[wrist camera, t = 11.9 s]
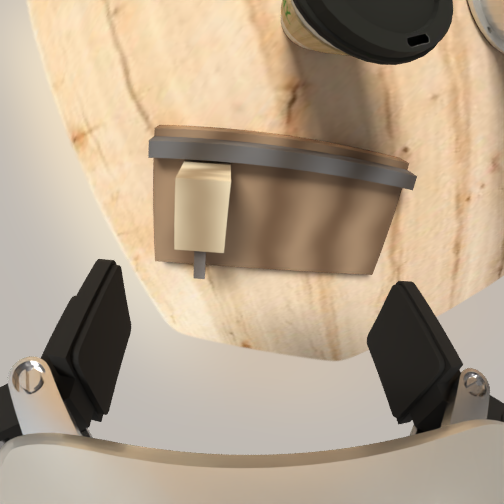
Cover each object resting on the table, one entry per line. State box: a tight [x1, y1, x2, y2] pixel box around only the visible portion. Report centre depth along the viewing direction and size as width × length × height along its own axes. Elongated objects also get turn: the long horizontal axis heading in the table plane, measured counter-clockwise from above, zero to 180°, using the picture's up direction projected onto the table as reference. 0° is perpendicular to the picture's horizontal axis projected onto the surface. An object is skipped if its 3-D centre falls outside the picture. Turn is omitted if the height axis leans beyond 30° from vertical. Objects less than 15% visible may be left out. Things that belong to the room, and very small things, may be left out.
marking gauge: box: [174, 159, 231, 279], centre depth 26 cm, size 4×10×6 cm, turn 173°
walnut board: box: [149, 125, 417, 275], centre depth 30 cm, size 25×14×4 cm, turn 83°
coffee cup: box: [281, 0, 453, 65], centre depth 15 cm, size 10×10×15 cm
